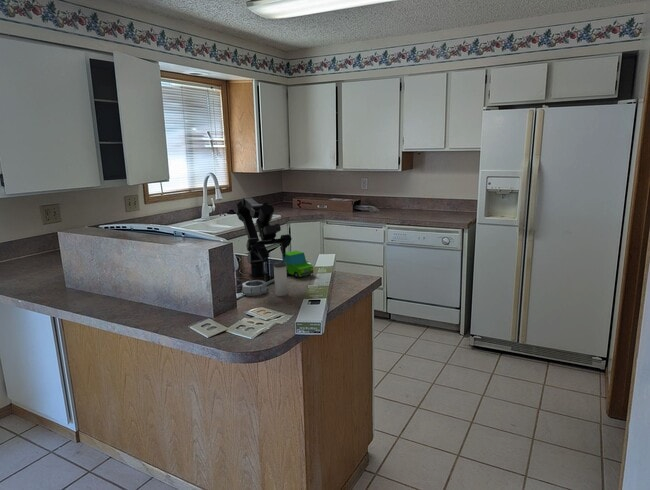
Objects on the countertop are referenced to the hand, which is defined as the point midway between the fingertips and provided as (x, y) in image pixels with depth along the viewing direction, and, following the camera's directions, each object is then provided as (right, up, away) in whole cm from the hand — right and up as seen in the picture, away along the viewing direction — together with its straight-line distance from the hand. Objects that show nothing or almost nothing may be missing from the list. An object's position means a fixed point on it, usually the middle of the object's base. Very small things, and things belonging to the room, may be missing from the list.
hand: (274, 259), depth 186 cm
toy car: (+9, -8, +24) cm, 27 cm away
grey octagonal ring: (-8, -14, 0) cm, 16 cm away
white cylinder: (+3, -14, -3) cm, 15 cm away
